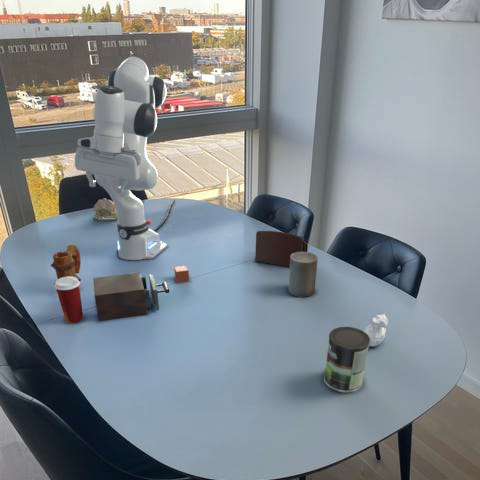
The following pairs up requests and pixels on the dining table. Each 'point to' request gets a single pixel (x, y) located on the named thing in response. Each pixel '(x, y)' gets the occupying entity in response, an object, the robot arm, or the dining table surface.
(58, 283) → the paper cup
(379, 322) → the bust
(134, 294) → the cabinet
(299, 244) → the letter holder
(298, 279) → the pillar candle
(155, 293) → the drawer
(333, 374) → the coffee can
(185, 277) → the block
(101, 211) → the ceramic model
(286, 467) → the dining table surface
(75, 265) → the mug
